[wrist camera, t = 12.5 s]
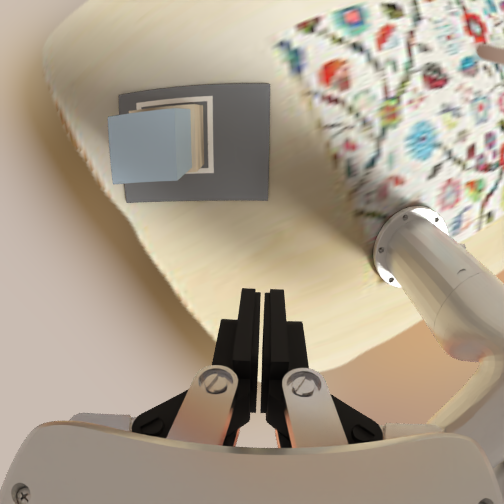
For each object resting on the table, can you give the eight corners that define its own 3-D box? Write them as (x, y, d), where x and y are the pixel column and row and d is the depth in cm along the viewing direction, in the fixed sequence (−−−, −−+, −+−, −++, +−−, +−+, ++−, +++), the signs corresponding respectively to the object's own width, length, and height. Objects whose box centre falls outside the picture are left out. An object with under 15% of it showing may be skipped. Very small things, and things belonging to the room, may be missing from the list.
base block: (203, 105, 30) (194, 104, 26) (204, 164, 33) (196, 172, 29) (145, 110, 30) (128, 111, 26) (148, 166, 33) (132, 175, 29)
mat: (269, 84, 29) (270, 83, 29) (267, 199, 36) (268, 200, 35) (120, 95, 29) (118, 95, 29) (127, 201, 36) (126, 203, 35)
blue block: (190, 109, 26) (174, 108, 21) (192, 167, 29) (177, 180, 23) (134, 114, 26) (107, 116, 21) (137, 170, 29) (112, 184, 23)
